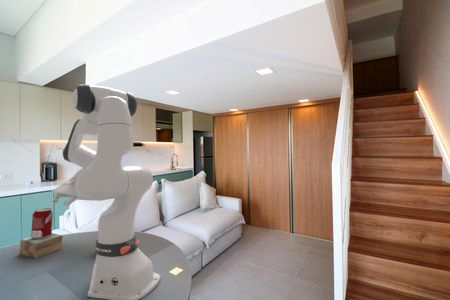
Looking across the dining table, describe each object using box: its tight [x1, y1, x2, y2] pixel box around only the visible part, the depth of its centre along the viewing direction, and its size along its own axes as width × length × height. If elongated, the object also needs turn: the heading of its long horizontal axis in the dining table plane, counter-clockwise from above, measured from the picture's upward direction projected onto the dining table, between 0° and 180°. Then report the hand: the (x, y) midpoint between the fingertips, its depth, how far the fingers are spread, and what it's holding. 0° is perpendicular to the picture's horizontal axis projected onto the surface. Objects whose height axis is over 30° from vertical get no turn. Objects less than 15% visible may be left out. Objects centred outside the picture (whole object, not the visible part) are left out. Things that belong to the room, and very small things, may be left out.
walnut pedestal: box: [19, 232, 63, 259], centre depth 92 cm, size 10×10×6 cm
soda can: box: [30, 207, 54, 239], centre depth 92 cm, size 7×7×12 cm
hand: (58, 204), depth 98 cm, fingers open, 8 cm apart
